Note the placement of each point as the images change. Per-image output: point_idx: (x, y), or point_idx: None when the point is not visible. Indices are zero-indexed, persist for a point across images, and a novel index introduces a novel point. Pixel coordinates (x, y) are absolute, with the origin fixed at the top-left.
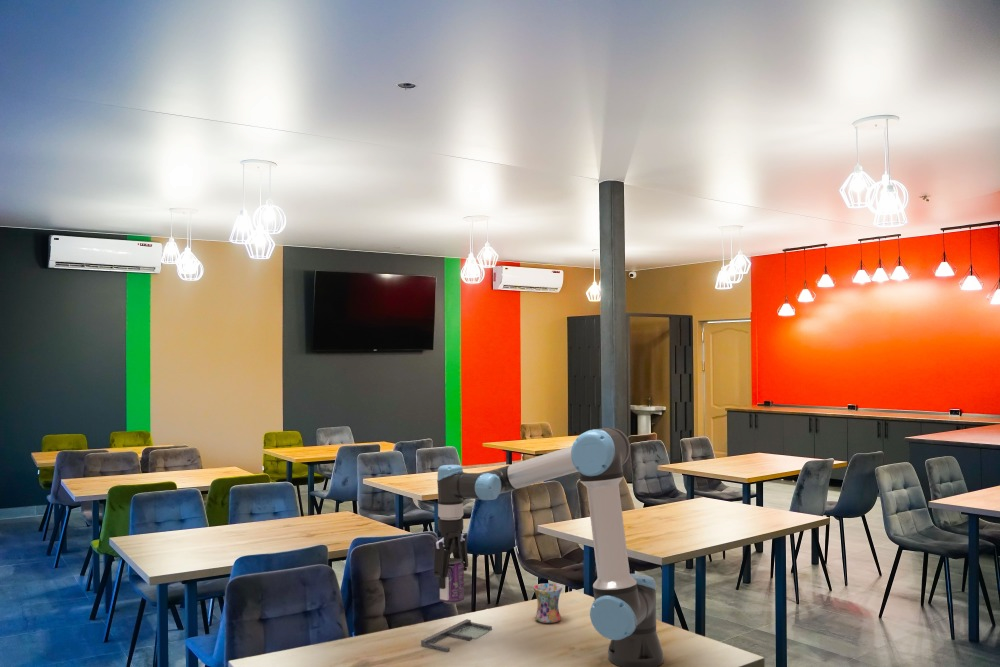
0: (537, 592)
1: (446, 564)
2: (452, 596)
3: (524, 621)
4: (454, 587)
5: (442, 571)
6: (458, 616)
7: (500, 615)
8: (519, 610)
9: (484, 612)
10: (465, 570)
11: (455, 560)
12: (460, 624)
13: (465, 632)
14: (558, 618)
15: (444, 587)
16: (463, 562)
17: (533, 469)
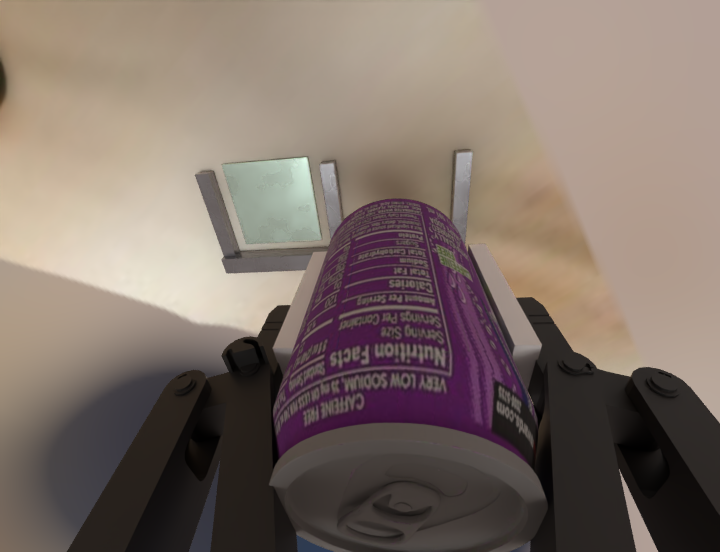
0: None
1: (614, 487)
2: (458, 236)
3: (49, 130)
4: (459, 257)
5: (668, 414)
6: (209, 318)
7: (98, 236)
8: (15, 217)
9: (128, 286)
10: (249, 344)
11: (342, 492)
12: (273, 259)
13: (290, 220)
14: None
15: (521, 302)
16: (228, 424)
17: None
